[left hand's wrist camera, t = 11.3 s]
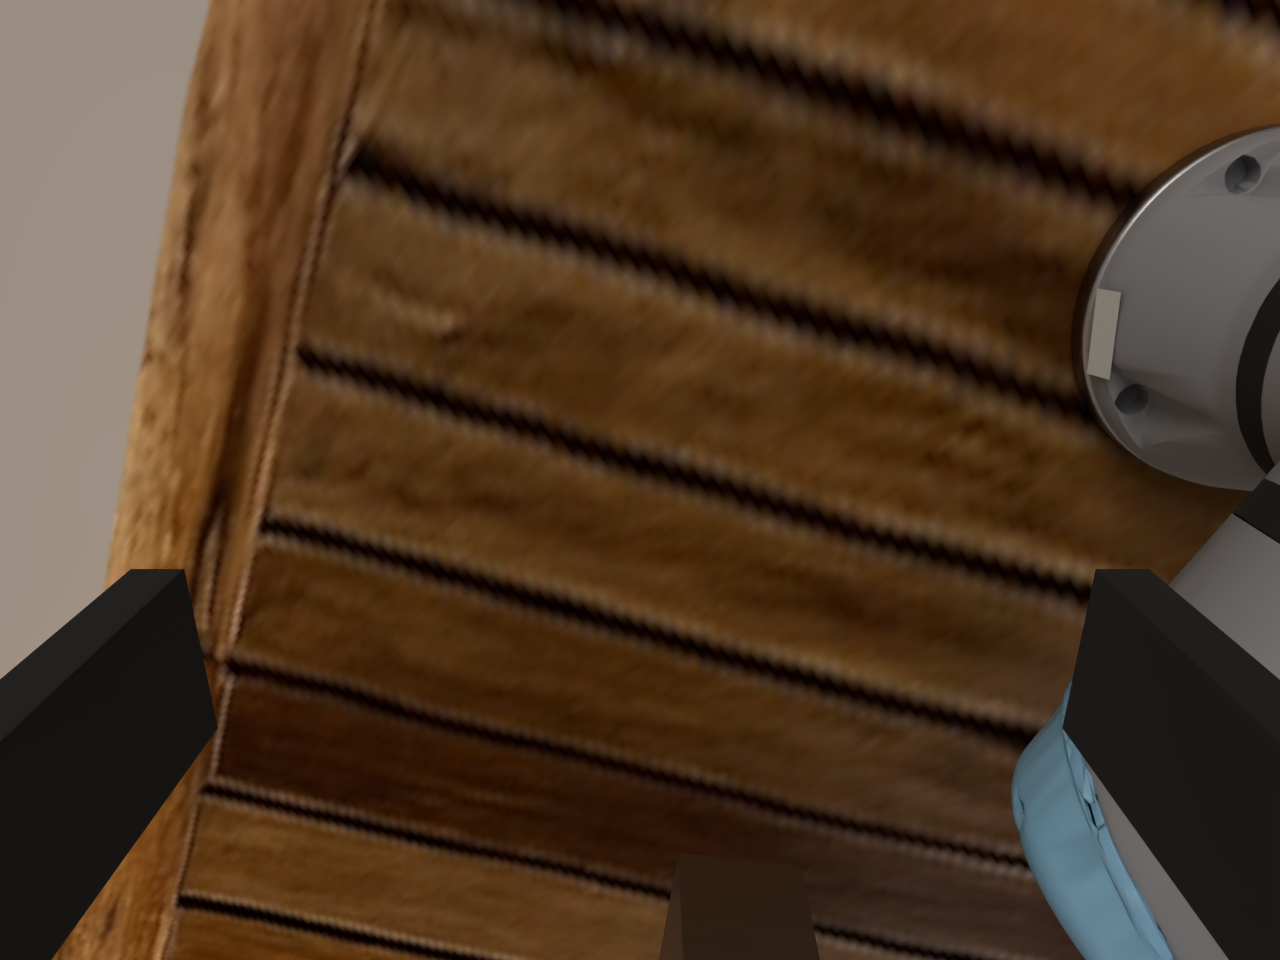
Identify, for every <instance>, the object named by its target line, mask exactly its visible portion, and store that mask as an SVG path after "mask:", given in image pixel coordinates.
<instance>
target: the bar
mask: <svg viewBox="0 0 1280 960" xmlns="http://www.w3.org/2000/svg"><path fill="white" fill-rule="evenodd" d="M659 960H820V958H819V953H818V948H817V943H816V939H815V934H814V929H813V924H812V920H811V915H810V910H809V905H808V900H807V896H806V891H805V886H804V881H803V876H802V872H801V867H800V866H799V865H791V864H781V863H772V862H762V861H753V860H744V859H734V858H725V857H716V856H706V855H697V854H688V853H679V854H678V859H677V864H676V870H675V875H674V881H673V886H672V892H671V898H670V903H669V909H668V914H667V920H666V925H665V931H664V936H663V942H662V947H661V953H660V958H659Z"/></svg>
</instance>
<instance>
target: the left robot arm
mask: <svg viewBox="0 0 1280 960" xmlns="http://www.w3.org/2000/svg"><path fill="white" fill-rule="evenodd" d="M1072 353H1073V363H1074V369H1075V374H1076V378H1077V382H1078V385H1079V388H1080V391H1081V394H1082V397H1083V399H1084V401H1085V403H1086V405H1087V407H1088V409H1089V411H1090V412H1091V414H1092V415H1093V417H1094V419H1095V420H1096V422H1097V423H1098V424H1099V425H1100V427H1101V428H1102V429H1103V430H1104V431H1105V433H1106V434H1107V435H1108V436H1109V437H1111V438H1112V439H1113V440H1114V441H1115V442H1116V443H1117V444H1118V445H1120V446H1121V447H1122V448H1124V449H1125V450H1126V451H1128V452H1129V453H1131V454H1132V455H1134V456H1135V457H1137V458H1139V459H1140V460H1142V461H1143V462H1145V463H1147V464H1148V465H1150V466H1152V467H1154V468H1156V469H1158V470H1160V471H1162V472H1164V473H1167V474H1169V475H1172V476H1175V477H1178V478H1181V479H1184V480H1187V481H1190V482H1193V483H1197V484H1201V485H1206V486H1212V487H1218V488H1227V489H1236V490H1246V491H1252V492H1251V493H1250V494H1249V496H1248V497H1247V498H1246V499H1245V500H1244V501H1243V502H1242V503H1241V505H1240V506H1239V507H1238V508H1237V509H1236V510H1235V511H1233V514H1232V513H1231V514H1230V515H1229V516H1228V518H1227V519H1226V520H1225V521H1224V522H1223V523H1222V525H1221V526H1220V527H1219V528H1218V529H1217V530H1216V531H1215V533H1214V534H1213V535H1212V536H1211V537H1210V538H1209V539H1208V541H1207V542H1206V543H1205V544H1204V545H1203V546H1202V548H1201V549H1200V550H1199V551H1198V552H1197V553H1196V554H1195V556H1194V557H1193V558H1192V559H1191V560H1190V561H1189V562H1188V563H1187V565H1186V566H1185V567H1184V568H1183V569H1182V570H1181V571H1180V572H1179V573H1178V574H1177V576H1176V577H1175V578H1174V579H1173V580H1172V581H1171V582H1170V583H1169V584H1168V585H1167V584H1166V583H1165V582H1164V581H1162V580H1161V579H1160V578H1159V577H1158V576H1156V575H1155V574H1154V573H1153V572H1152V571H1151V570H1149V569H1096V571H1095V576H1094V580H1093V585H1092V590H1091V595H1090V599H1089V604H1088V609H1087V613H1086V618H1085V623H1084V628H1083V632H1082V637H1081V642H1080V647H1079V651H1078V656H1077V661H1076V665H1075V670H1074V675H1073V680H1072V681H1071V682H1070V683H1069V685H1068V686H1067V688H1066V690H1065V692H1064V696H1063V702H1062V703H1061V705H1060V706H1059V707H1058V708H1057V710H1056V711H1055V712H1054V714H1053V715H1052V716H1051V717H1050V719H1049V720H1048V721H1047V722H1046V724H1045V725H1044V726H1043V727H1042V729H1041V730H1040V731H1039V732H1038V734H1037V735H1036V736H1035V737H1034V739H1033V740H1032V741H1031V742H1030V743H1029V745H1028V746H1027V747H1026V748H1025V750H1024V751H1023V753H1022V754H1021V756H1020V758H1019V760H1018V762H1017V764H1016V767H1015V770H1014V775H1013V779H1012V786H1011V801H1012V806H1013V817H1014V820H1015V823H1016V825H1017V828H1018V830H1019V833H1020V841H1021V844H1022V849H1023V852H1024V854H1025V857H1026V859H1027V862H1028V864H1029V866H1030V868H1031V870H1032V872H1033V875H1034V877H1035V879H1036V881H1037V883H1038V885H1039V887H1040V889H1041V891H1042V893H1043V895H1044V896H1045V898H1046V900H1047V902H1048V904H1049V905H1050V907H1051V909H1052V910H1053V912H1054V914H1055V915H1056V917H1057V919H1058V920H1059V922H1060V924H1061V925H1062V927H1063V928H1064V930H1065V931H1066V933H1067V934H1068V936H1069V937H1070V939H1071V940H1072V942H1073V943H1074V945H1075V946H1076V948H1077V949H1078V951H1079V952H1080V953H1081V955H1082V956H1083V957H1084V959H1085V960H1280V124H1273V125H1267V126H1262V127H1256V128H1252V129H1248V130H1245V131H1241V132H1238V133H1234V134H1232V135H1229V136H1226V137H1224V138H1221V139H1219V140H1216V141H1214V142H1212V143H1210V144H1208V145H1206V146H1204V147H1202V148H1200V149H1198V150H1196V151H1194V152H1192V153H1191V154H1189V155H1187V156H1186V157H1184V158H1182V159H1181V160H1179V161H1178V162H1176V163H1175V164H1174V165H1172V166H1171V167H1169V168H1168V169H1167V170H1165V171H1164V172H1162V173H1161V174H1160V175H1159V176H1158V177H1157V178H1155V179H1154V180H1153V181H1152V182H1151V183H1149V184H1148V185H1147V186H1146V187H1145V188H1144V189H1143V190H1142V191H1141V192H1140V193H1139V194H1138V195H1137V196H1136V197H1135V198H1134V199H1133V200H1132V201H1131V202H1130V204H1129V205H1128V206H1127V207H1126V208H1125V209H1124V211H1123V212H1122V213H1121V214H1120V215H1119V217H1118V218H1117V219H1116V221H1115V222H1114V223H1113V225H1112V226H1111V228H1110V229H1109V230H1108V232H1107V233H1106V235H1105V237H1104V238H1103V240H1102V242H1101V243H1100V245H1099V247H1098V248H1097V250H1096V252H1095V254H1094V256H1093V258H1092V260H1091V262H1090V264H1089V267H1088V269H1087V272H1086V274H1085V277H1084V279H1083V282H1082V285H1081V289H1080V292H1079V295H1078V299H1077V303H1076V308H1075V314H1074V320H1073V330H1072ZM1255 527H1256V528H1255ZM1260 530H1261V531H1260ZM1265 533H1266V534H1265ZM1268 535H1269V536H1268ZM1270 536H1271V537H1270ZM1273 538H1274V539H1273ZM1278 541H1279V542H1278ZM217 728H218V727H217V722H216V717H215V713H214V708H213V703H212V699H211V694H210V689H209V684H208V680H207V675H206V670H205V665H204V661H203V656H202V651H201V647H200V642H199V637H198V632H197V628H196V623H195V618H194V613H193V609H192V604H191V599H190V595H189V590H188V585H187V580H186V576H185V571H184V569H131V570H129V571H128V572H127V573H126V574H125V575H124V576H122V577H121V578H120V579H119V580H118V581H116V582H115V583H114V584H113V585H112V586H110V587H109V588H108V589H107V590H106V591H105V592H103V593H102V594H101V595H100V596H99V597H97V598H96V599H95V600H94V601H93V602H92V603H90V604H89V605H88V606H87V607H86V608H84V609H83V610H82V611H81V612H80V613H78V614H77V615H76V616H75V617H74V618H73V619H71V620H70V621H69V622H68V623H67V624H65V625H64V626H63V627H62V628H61V629H59V630H58V631H57V632H56V633H55V634H54V635H52V636H51V637H50V638H49V639H48V640H46V641H45V642H44V643H43V644H42V645H41V646H39V647H38V648H37V649H36V650H35V651H33V652H32V653H31V654H30V655H29V656H27V657H26V658H25V659H24V660H23V661H22V662H20V663H19V664H18V665H17V666H16V667H14V668H13V669H12V670H11V671H10V672H8V673H7V674H6V675H5V676H4V677H3V678H1V679H0V960H51V959H52V958H53V957H54V955H55V954H56V953H57V951H58V950H59V948H60V947H61V946H62V944H63V943H64V941H65V940H66V939H67V937H68V936H69V934H70V933H71V932H72V930H73V929H74V927H75V926H76V925H77V923H78V922H79V920H80V919H81V918H82V916H83V915H84V914H85V912H86V911H87V909H88V908H89V907H90V905H91V904H92V902H93V901H94V900H95V898H96V897H97V895H98V894H99V893H100V891H101V890H102V888H103V887H104V886H105V884H106V883H107V881H108V880H109V879H110V877H111V876H112V875H113V873H114V872H115V870H116V869H117V868H118V866H119V865H120V863H121V862H122V861H123V859H124V858H125V856H126V855H127V854H128V852H129V851H130V849H131V848H132V847H133V845H134V844H135V842H136V841H137V840H138V838H139V837H140V836H141V834H142V833H143V831H144V830H145V829H146V827H147V826H148V824H149V823H150V822H151V820H152V819H153V817H154V816H155V815H156V813H157V812H158V810H159V809H160V808H161V806H162V805H163V803H164V802H165V801H166V799H167V798H168V797H169V795H170V794H171V792H172V791H173V790H174V788H175V787H176V785H177V784H178V783H179V781H180V780H181V778H182V777H183V776H184V774H185V773H186V771H187V770H188V769H189V767H190V766H191V765H192V763H193V762H194V760H195V759H196V758H197V756H198V755H199V753H200V752H201V751H202V749H203V748H204V746H205V745H206V744H207V742H208V741H209V739H210V738H211V737H212V735H213V734H214V732H215V731H216V730H217Z"/></svg>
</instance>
